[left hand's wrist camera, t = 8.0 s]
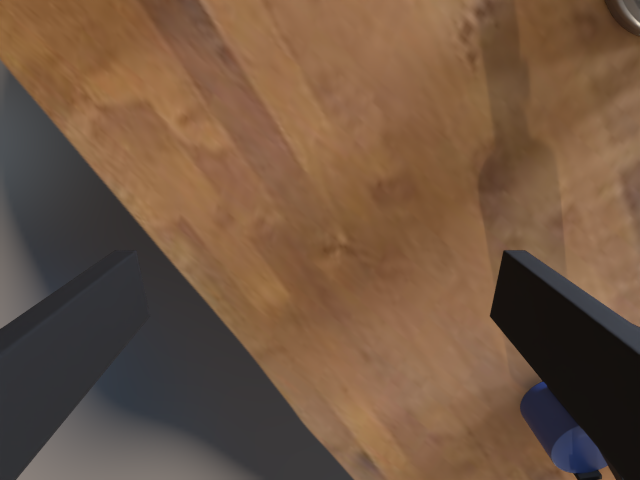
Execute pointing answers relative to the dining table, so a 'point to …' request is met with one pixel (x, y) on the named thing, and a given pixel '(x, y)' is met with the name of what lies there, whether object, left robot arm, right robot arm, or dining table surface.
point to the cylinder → (559, 432)
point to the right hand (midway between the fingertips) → (557, 409)
